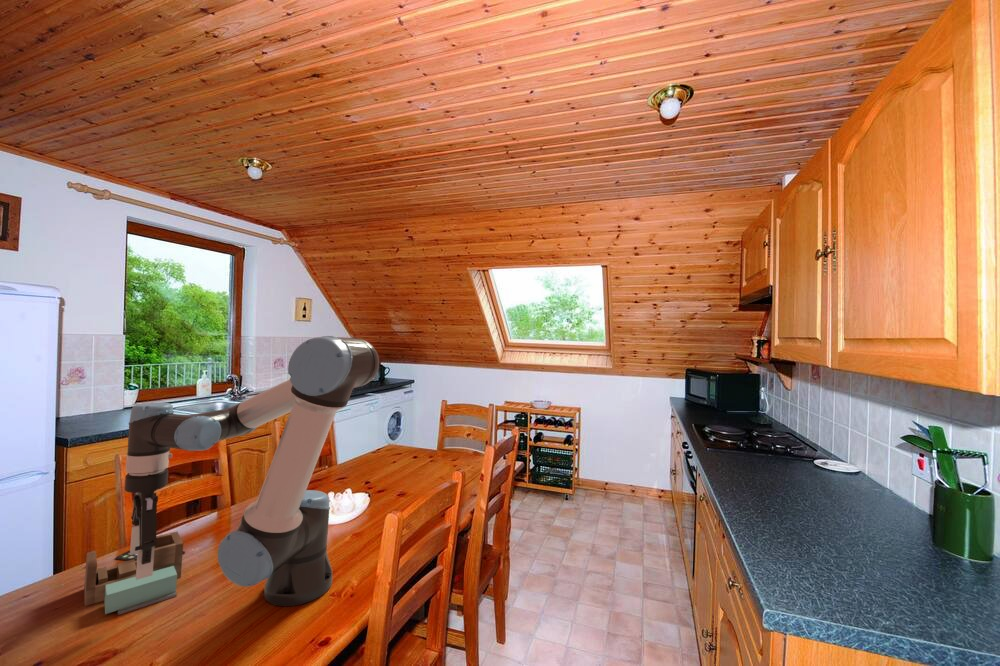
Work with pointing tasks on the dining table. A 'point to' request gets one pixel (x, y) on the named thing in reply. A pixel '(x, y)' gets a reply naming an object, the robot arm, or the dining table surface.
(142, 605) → the slate pad
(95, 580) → the walnut jig
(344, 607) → the dining table surface
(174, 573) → the teal block
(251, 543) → the robot arm
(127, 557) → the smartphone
